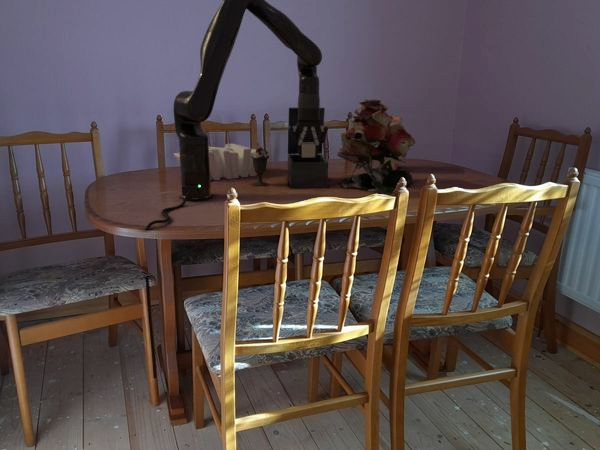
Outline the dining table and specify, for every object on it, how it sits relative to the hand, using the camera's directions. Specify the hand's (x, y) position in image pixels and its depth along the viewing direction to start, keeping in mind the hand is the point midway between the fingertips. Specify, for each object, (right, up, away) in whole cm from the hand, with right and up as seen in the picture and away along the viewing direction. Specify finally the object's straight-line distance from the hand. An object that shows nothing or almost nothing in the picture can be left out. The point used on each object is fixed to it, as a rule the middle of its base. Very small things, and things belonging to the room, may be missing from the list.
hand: (308, 155), depth 189 cm
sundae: (-17, -10, +3) cm, 20 cm away
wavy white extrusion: (-32, -5, +17) cm, 37 cm away
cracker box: (+34, -2, +31) cm, 47 cm away
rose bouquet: (+23, -10, +5) cm, 25 cm away
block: (0, 0, 0) cm, 0 cm away
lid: (-1, +9, +6) cm, 11 cm away
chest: (0, -9, +6) cm, 11 cm away
